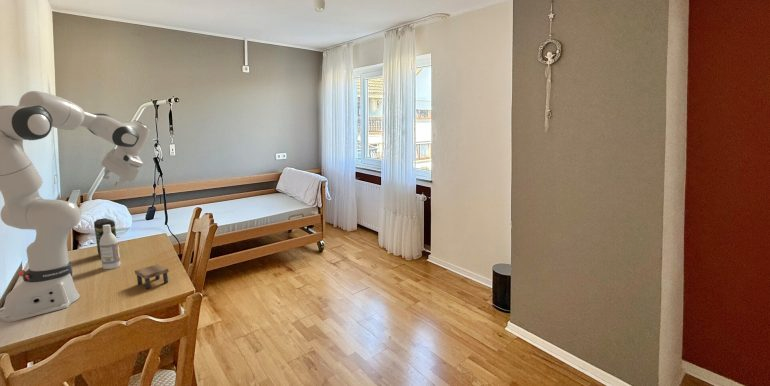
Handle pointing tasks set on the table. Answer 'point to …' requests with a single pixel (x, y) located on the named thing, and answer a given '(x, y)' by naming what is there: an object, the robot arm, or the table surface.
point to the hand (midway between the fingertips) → (111, 182)
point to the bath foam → (109, 249)
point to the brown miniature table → (151, 274)
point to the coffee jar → (99, 230)
